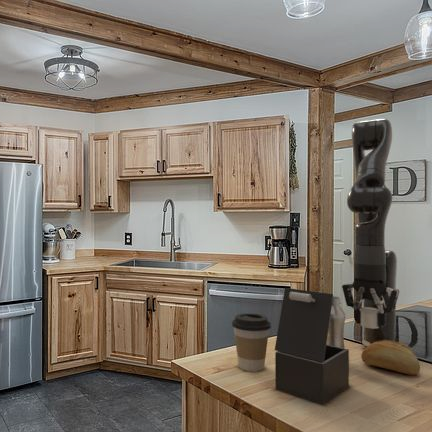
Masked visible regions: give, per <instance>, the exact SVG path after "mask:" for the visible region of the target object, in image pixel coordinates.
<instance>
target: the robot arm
mask: <svg viewBox="0 0 432 432" xmlns="http://www.w3.org/2000/svg"><path fill="white" fill-rule="evenodd" d="M392 127H393V126H392V123H391V121H390V120H389V119H387V118H378V119H371V120H370V119H369V120H363V121H362V120H361V121H357V122H354V123H353V125H352V127H351V142H352V144H351V145H352V151H353V161H354V170H355V181H354V184H353V185H352V187H351V188H350V190H349V192H348V194H347V198H346V204H347V205H346V206H347V208H348V210H350V211H351V213H354V214H356V215H357V224H356V225H354V226H355V227H354V250H353V282H352V283H344V284H342V285H341V289H342V293H343V296H344V300H345V304H346V306H347V307H350V308H352V309H353V320H354V322H355V323H356V324H360V325H361V311H360V310H359V309H360V308H362V305H363V307H368V308H376V309H378V310H379V312H380V313H378V326H379V328H376V329H371V328H365V327H363V338H362V340H361V341H362V344H363V346H362V347H363V351H364V350H365V348H366V347H368V346H369V345H370V344H372V343H374V342H375V341H378V340H390V341H396V342H397V337H396V336H397V332H396V331H397V323H396V322H397V316H396V315H397V313H396V312H397V310H396V309H397V307H396V306H397V302H398V299H399V295H400V289H398V288H397V270H398V269H397V268H398V258H397V255H396V253H395V252H394V251H393V250H388V249H387V250H386V245H385V236H386V235H385V232H386V231H385V229H386V224H387V219H388V215H389V212H390V209H391V207H392V203H393V193H392V190H390V189H389V188H388V187H387V185H386V168H387V167H386V166H387V161H388V159H389V155H390V151H391V147H392V142H393V128H392ZM366 151H370V152H369V153H368V154H367V155H366V153H365V152H366ZM354 290H355V292H356V293H357V295H356V297H355V300H354V296H353V291H354Z"/></svg>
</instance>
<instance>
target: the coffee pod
mask: <svg viewBox="0 0 432 432" xmlns="http://www.w3.org/2000/svg"><path fill="white" fill-rule="evenodd" d="M359 310H360V311H361V323H360V326H361V328H364V327H365V328H371V329H376V328H379V326H378V313H380V312H379V310H378V309H376V308H368V307H364V306H363V307H361V308H360V309H359Z"/></svg>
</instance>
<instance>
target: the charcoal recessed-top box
mask: <svg viewBox="0 0 432 432" xmlns="http://www.w3.org/2000/svg"><path fill="white" fill-rule="evenodd" d="M344 348H345V347H344ZM344 348H340V347H335V346H331V345H326V351H325V358H324V363H323V362H319V361H315V360H311V359H307V358H303V357H299V356H295V355H291V354H288V353H284V352H280V351H275V352H274V353H275V354H274V355H275V357H274V359H275V360H274V361H275V366H274V369H275V370H274V371H275V372H274V373H275V376H274V377H275V378H274V379H275V385H274V386H275V390H276V391H279V392H282V393H284V394H285V393H286V394H287V395H288V394H289V395H291V396H295V397H298V398H301V399H303V400H307V401H310V402H313V403H315V404H319V405H322V406H324V405H325V404H327V403H328V402H330V401H331V400H333V399H334V398H335V397H336V396H338V395H339V394H340V393H342V392H343V391H345V390H346V389H347V388H348V387H350V379H349V378H350V375H349V374H350V349H349V348H345V349H344Z"/></svg>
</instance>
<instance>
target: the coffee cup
mask: <svg viewBox="0 0 432 432" xmlns="http://www.w3.org/2000/svg"><path fill="white" fill-rule="evenodd" d="M231 327H233V333H234V340H235V349H236V356H237V364H238V366H239V368H240V369H241V370H243V371H246V372H251V373H252V372H253V373H257V372H261V371H263V370H264V369H265V368H264V367H265V363H266V355H267V349H268V342H269V341H268V340H269V331H270V329H272V326H271V322H270V321H269V320H268V317H267V316H265V315H263V314H260V313H259V314H258V313H250V312H249V313H237V314H236V315H235V317H234V319H233V320H232V322H231Z"/></svg>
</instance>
